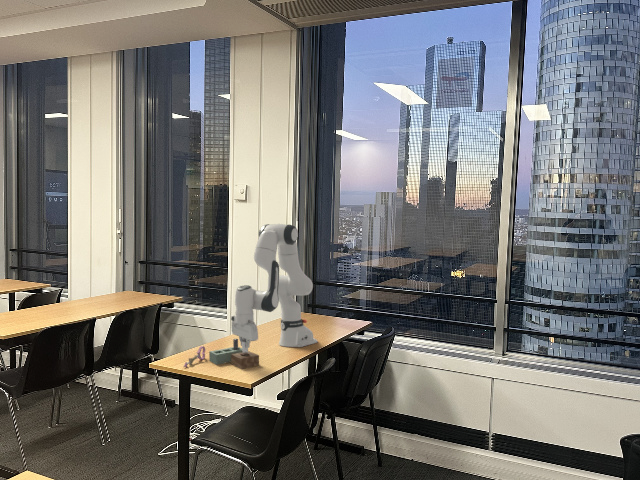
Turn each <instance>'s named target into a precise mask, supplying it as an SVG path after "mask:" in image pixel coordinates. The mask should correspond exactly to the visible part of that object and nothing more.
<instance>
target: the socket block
mask: <svg viewBox="0 0 640 480" xmlns="http://www.w3.org/2000/svg"><path fill="white" fill-rule="evenodd" d="M230 363H231V364H230V365H232V366H234V367H236V368H237V369H241V370H244V369H249V368H253V367H256V366H260V355H259V354H256V353H254V352H252V351H249V350H248V356H242V352H241V353H236V354H231V362H230Z"/></svg>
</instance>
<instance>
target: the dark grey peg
mask: <svg viewBox="0 0 640 480" xmlns="http://www.w3.org/2000/svg"><path fill="white" fill-rule="evenodd" d="M232 340H233V342H232V343H233V345H232V347H233V350H238V347H239V338H233V339H232Z"/></svg>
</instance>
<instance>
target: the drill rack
mask: <svg viewBox="0 0 640 480" xmlns="http://www.w3.org/2000/svg"><path fill="white" fill-rule="evenodd" d="M241 352H242V347H240V346H238V350H233V346H231V347H226V348H220V349H215V350H210V351H209V352H208V353H209V354H208V356H209V357H208V358H209V362H211V363H213V364H214V365H216V366H217V365H223V364H227V363H231V354H236V353H241Z"/></svg>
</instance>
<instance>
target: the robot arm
mask: <svg viewBox="0 0 640 480" xmlns="http://www.w3.org/2000/svg"><path fill="white" fill-rule="evenodd" d="M298 238H299V231H298V229H297V227H296V226H295V225H292V224H286V223H285V224H284V223H274V224H264V225H262V226H261V227H260V229H259V231H258V240H257V241H256V246H255V250H254V255H253V259H254V262H255V263H256V265H257V266H258V267H260V268H261V269H262V270H265V271H266V272H267V274H268V278H267V290H256V289H253V287H252V286H251V285H247V284H246V285H240V286H238V287H236V290H235V296H234V297H235V301H234V303H235V304H234V305H235V309H236V310H235V314H234V315H232V316H230V321H231V332H232V335H234V336H237V337H238V341H239V343H240V346H241V347H242V338H244V339H246V344H245V347H246V348H248V349H249V348H250V345H251V342H255V341H258V339H259V331H258V326H257V325H256V323H255V320H254V319H255V318H254V314H255V313H254V310H255V311H256V310H257V311H263V312H266V313H267V312H268V313H271V312H274V311H275V310H276V309H277V308H278V306H279V305H280V311H281V312H280V313H281V314H280V315H281V319H280V337H279V342H278V345H279V346H281V347H286V348H288V347H289V348H303V347H306V346H309V345H313V344H317V343H318V339H316V338H314V333H313V331H312V330H311V329H310V328H308V327H307V326H306V325H304V324H307V323H308V320H307V319H305V318H304V319H302V308H301V305H300V303H299V302H297V301H296V300H295V299H294V298H293V296H300V297H302V296H303V297H304V296H308V295H310V294H311V293H312V291H313V288H314V284H313V280H312V279H311V278H310V277H308V276H307V275H306V274H305V273H304V271H303V270H302V268H301V265H300V261H299V252H298V251H299V249H298V243H297V241H298ZM277 255H278V261H277V258H276V257H277ZM280 269H281V270H283V271H284V272H285V273H287V275H285V274H284V275H281V274H280Z"/></svg>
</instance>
